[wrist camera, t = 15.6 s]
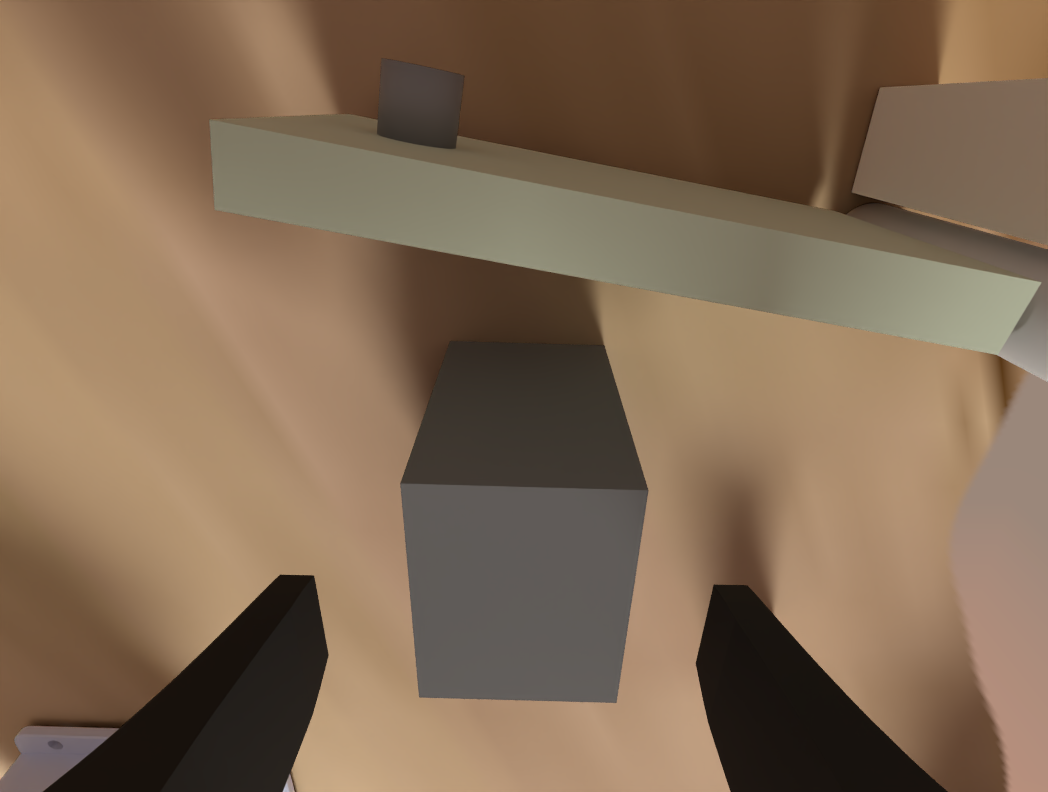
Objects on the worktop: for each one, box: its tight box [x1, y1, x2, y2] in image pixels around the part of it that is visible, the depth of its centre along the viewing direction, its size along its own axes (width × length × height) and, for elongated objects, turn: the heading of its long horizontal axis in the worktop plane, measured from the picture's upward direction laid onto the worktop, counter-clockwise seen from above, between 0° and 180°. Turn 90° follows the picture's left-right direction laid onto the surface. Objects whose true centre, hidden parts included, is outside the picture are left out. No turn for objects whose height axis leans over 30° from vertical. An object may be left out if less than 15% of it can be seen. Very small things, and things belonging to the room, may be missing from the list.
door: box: [209, 58, 1042, 355], centre depth 9 cm, size 2×10×6 cm, turn 80°
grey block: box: [400, 341, 648, 703], centre depth 13 cm, size 4×5×6 cm
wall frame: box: [846, 78, 1048, 382], centre depth 13 cm, size 2×18×6 cm, turn 178°
